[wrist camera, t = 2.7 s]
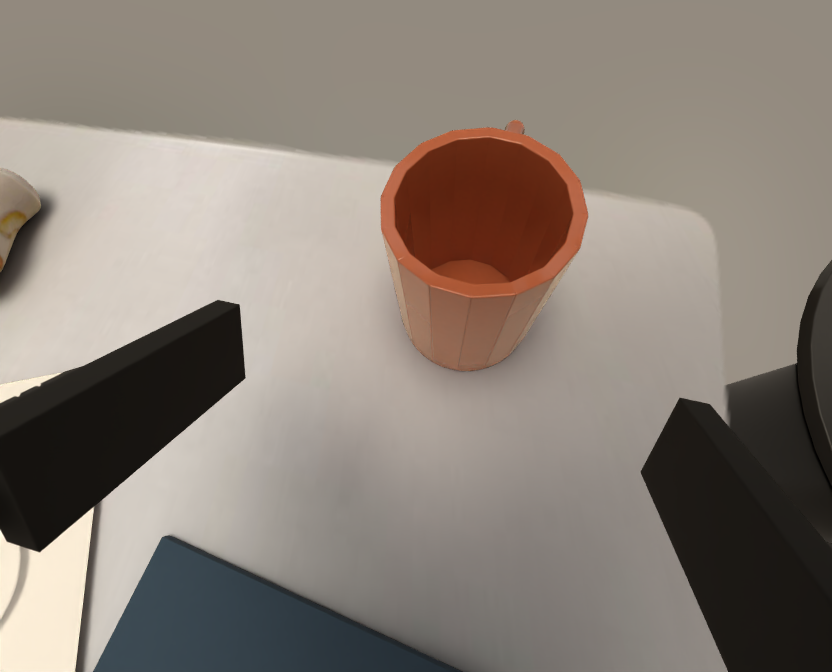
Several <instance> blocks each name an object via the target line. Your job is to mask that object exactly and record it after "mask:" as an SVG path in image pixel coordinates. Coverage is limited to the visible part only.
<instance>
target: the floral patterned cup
mask: <svg viewBox="0 0 832 672" xmlns="http://www.w3.org/2000/svg"><path fill="white" fill-rule="evenodd" d="M40 208H41V203H40V197H39V195H38V193H37V192H36V190H35V189H34V188H33V187H32V186H31V185H30V184H29V183H28V182H27V181H26V180H24V179H23V178H22V177H21V176H19V175H17V174H16V173H14V172H12V171H9V170H7V169H3V168H0V272H1V271H2V269H3V267H4V265H5V263H6V260H7V257H8V255H9V252H10V249H11V247H12V244H13V241H14V239H15V237H16V234H17V232H18V231H19V229H20V228H21V227H22V225H23V224H24V223H26V222H27V221H28V220H29V219H30V218H31V217H32V216H33V215H35V214H36V213H37V212H38V211H39V210H40Z"/></svg>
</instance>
